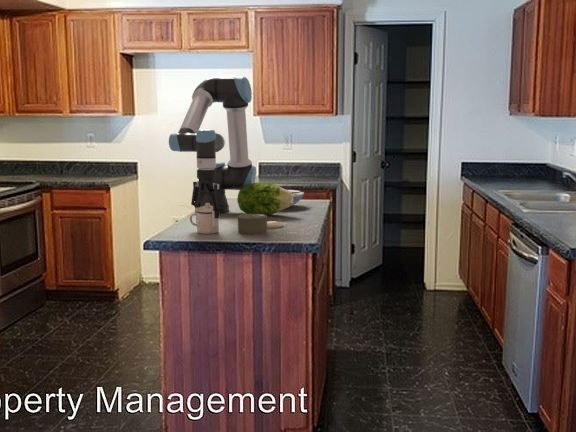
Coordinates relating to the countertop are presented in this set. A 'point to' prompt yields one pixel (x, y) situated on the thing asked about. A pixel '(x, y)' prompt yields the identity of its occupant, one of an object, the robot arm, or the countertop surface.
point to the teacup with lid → (204, 220)
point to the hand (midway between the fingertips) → (207, 224)
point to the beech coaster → (274, 224)
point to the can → (252, 224)
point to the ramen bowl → (296, 195)
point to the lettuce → (264, 198)
